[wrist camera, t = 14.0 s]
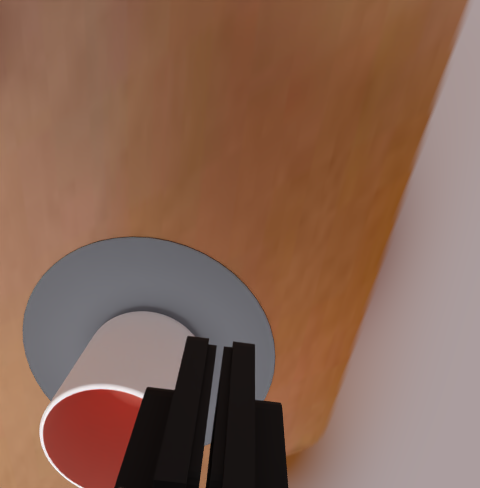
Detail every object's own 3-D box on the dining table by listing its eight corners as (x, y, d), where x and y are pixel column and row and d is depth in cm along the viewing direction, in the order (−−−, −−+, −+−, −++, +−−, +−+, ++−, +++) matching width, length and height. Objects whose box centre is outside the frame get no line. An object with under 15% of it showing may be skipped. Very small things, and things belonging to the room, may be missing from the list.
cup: (106, 289, 37) (50, 365, 27) (222, 326, 37) (206, 413, 28) (84, 381, 40) (28, 476, 31) (190, 413, 41) (166, 516, 32)
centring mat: (34, 435, 44) (33, 436, 43) (11, 222, 35) (10, 222, 35) (260, 463, 43) (259, 464, 43) (291, 253, 35) (291, 254, 34)
